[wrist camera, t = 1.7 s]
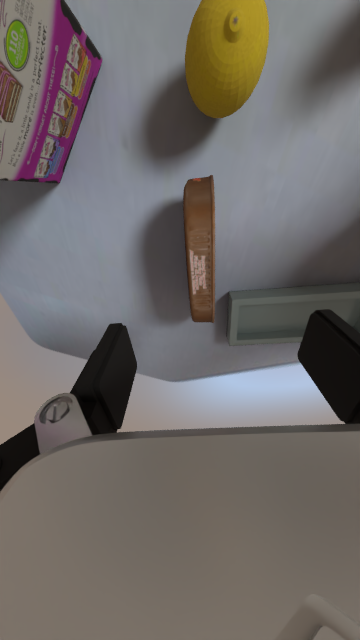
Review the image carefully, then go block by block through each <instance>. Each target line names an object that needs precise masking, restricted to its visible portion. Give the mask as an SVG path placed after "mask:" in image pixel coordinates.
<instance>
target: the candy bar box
mask: <svg viewBox="0 0 360 640" xmlns="http://www.w3.org/2000/svg"><path fill="white" fill-rule="evenodd" d="M101 63H102V57H101V55H100V54H99V52H98V51H97V49H96V48H95V46H94V44H93V43H92V41H91V40H90V39H89V37H88V36H87V34H86V33H85V31H84V29H83V28H82V26H81V25H80V23H79V22H78V20H77V19H76V17H75V16H74V14H73V13H72V11H71V10H70V8H69V7H68V5H67V4H66V2H65V1H64V0H0V180H6V181H28V182H45V183H60V181H61V178H62V175H63V172H64V169H65V166H66V163H67V160H68V157H69V154H70V151H71V148H72V145H73V143H74V140H75V137H76V134H77V131H78V128H79V125H80V122H81V120H82V117H83V114H84V111H85V108H86V105H87V102H88V100H89V97H90V94H91V91H92V88H93V85H94V83H95V80H96V77H97V74H98V71H99V69H100V66H101Z"/></svg>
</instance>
